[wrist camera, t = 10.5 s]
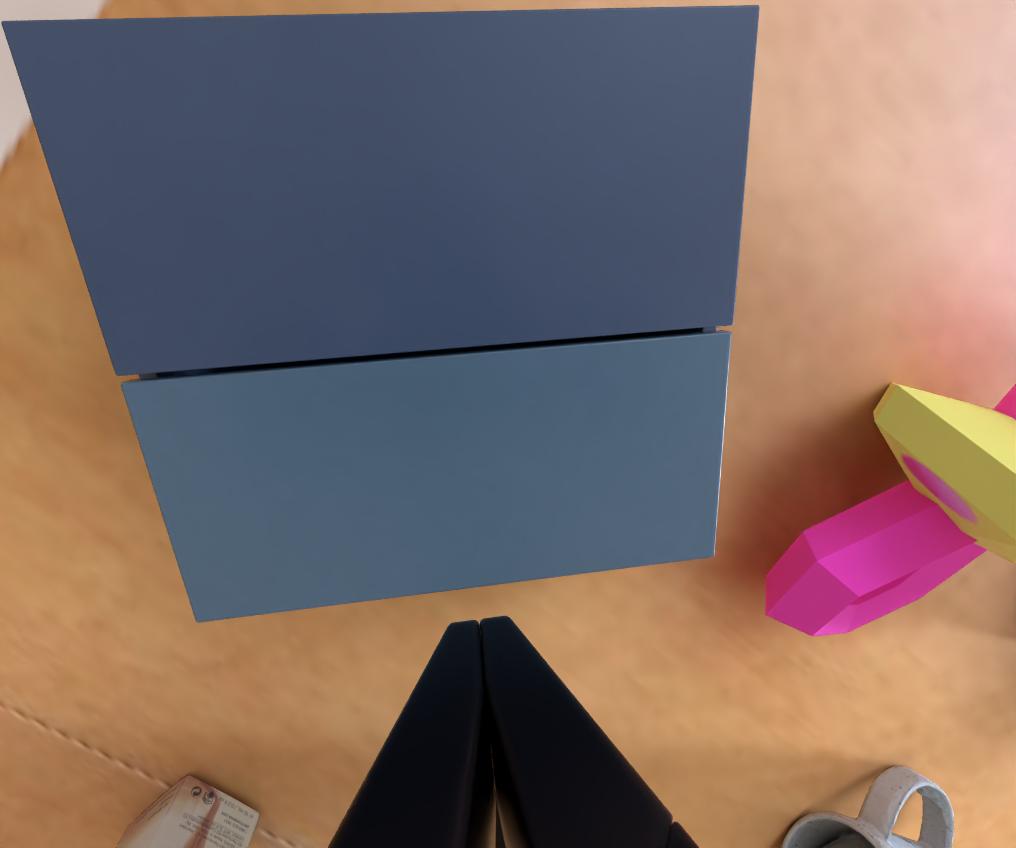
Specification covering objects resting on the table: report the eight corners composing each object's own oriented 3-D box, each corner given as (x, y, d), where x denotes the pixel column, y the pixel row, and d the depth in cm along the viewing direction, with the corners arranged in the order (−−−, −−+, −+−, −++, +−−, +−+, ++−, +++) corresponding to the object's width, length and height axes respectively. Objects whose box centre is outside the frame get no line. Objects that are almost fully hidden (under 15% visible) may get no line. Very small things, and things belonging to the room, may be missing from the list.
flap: (708, 550, 13) (715, 557, 13) (202, 613, 12) (195, 623, 11) (723, 329, 11) (732, 331, 11) (130, 379, 10) (119, 383, 10)
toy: (663, 509, 22) (832, 769, 16) (1097, 121, 14) (1883, 315, 7) (768, 529, 28) (924, 723, 21) (1117, 263, 20) (1560, 445, 13)
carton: (614, 447, 20) (716, 559, 13) (296, 480, 19) (194, 626, 11) (616, 122, 17) (763, -2, 9) (220, 138, 15) (-7, 14, 8)
